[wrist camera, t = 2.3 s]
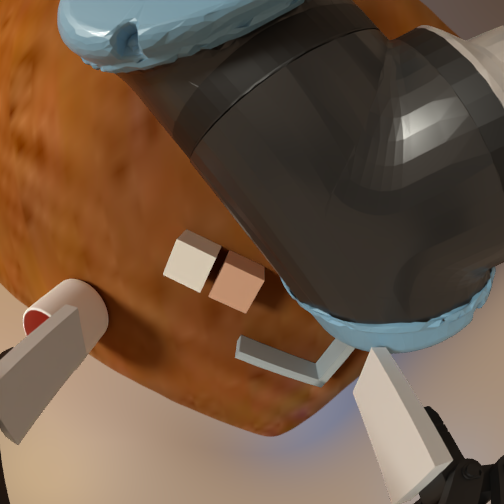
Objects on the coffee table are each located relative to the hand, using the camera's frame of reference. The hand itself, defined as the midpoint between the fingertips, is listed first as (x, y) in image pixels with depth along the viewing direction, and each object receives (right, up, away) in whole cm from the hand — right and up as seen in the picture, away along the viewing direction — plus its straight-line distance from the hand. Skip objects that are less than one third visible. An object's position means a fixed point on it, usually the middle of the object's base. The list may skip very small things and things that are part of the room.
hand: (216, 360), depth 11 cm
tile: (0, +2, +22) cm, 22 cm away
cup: (-24, -3, +25) cm, 35 cm away
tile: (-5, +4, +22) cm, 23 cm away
